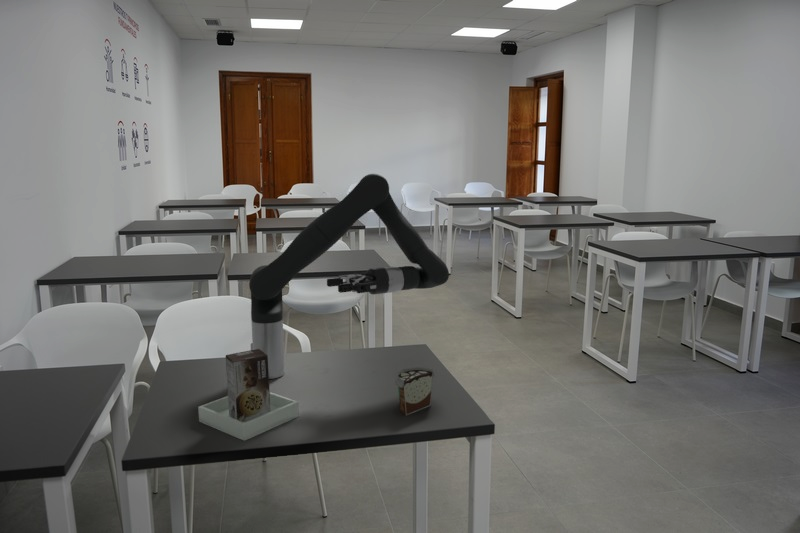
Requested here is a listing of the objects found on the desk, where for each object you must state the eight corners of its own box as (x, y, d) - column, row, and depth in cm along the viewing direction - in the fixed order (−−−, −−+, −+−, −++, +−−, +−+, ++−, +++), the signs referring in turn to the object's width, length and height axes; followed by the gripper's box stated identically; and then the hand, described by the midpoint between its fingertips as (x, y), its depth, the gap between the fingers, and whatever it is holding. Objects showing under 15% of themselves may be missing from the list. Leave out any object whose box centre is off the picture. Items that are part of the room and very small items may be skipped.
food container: (418, 397, 177) (418, 363, 175) (434, 404, 173) (434, 368, 171) (385, 410, 169) (385, 374, 167) (401, 417, 164) (402, 380, 163)
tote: (199, 421, 162) (198, 406, 161) (253, 400, 175) (253, 386, 175) (244, 440, 151) (243, 424, 151) (299, 416, 165) (298, 401, 164)
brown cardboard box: (261, 407, 168) (259, 348, 165) (271, 415, 163) (269, 354, 160) (227, 414, 163) (224, 354, 160) (236, 423, 158) (233, 361, 155)
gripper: (374, 263, 192) (323, 268, 185) (395, 271, 180) (342, 277, 173) (374, 288, 194) (323, 293, 186) (396, 297, 181) (342, 304, 174)
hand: (332, 285), depth 179 cm, fingers open, 8 cm apart
